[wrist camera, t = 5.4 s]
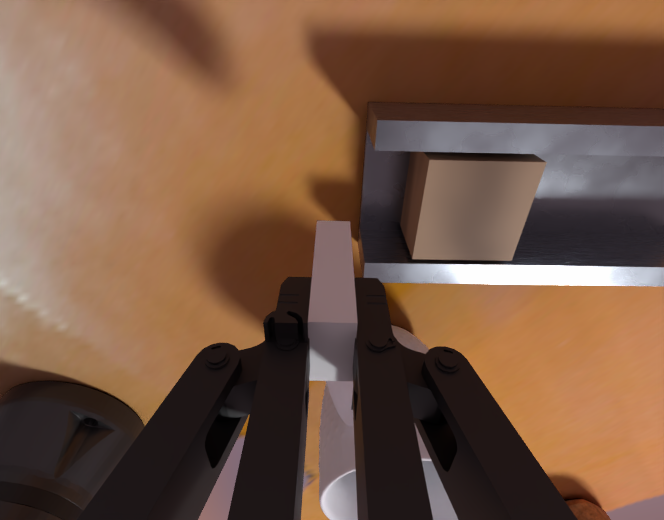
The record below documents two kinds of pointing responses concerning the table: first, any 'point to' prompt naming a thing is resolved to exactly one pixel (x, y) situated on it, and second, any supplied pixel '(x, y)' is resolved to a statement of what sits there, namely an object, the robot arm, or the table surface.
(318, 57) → the table surface
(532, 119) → the chute
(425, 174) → the block
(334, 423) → the mug
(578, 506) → the bread
